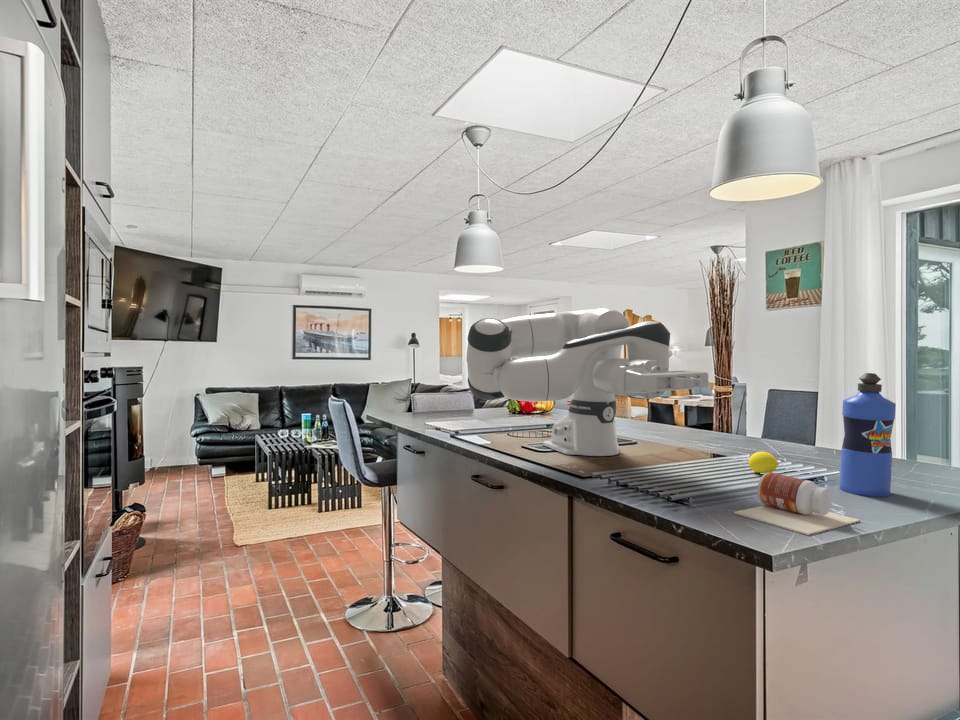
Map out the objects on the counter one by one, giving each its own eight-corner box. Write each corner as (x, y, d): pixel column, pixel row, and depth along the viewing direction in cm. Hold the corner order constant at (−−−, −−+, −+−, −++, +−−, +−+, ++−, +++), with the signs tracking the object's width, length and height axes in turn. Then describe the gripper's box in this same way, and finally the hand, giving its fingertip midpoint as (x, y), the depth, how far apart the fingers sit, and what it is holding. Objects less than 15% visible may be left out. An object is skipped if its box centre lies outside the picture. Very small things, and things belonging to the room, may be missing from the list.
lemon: (744, 475, 142) (742, 452, 142) (755, 472, 145) (753, 450, 146) (773, 477, 137) (771, 453, 137) (784, 474, 140) (782, 450, 140)
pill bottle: (752, 497, 111) (813, 512, 102) (762, 466, 113) (823, 479, 104) (767, 508, 115) (828, 524, 105) (777, 479, 116) (837, 492, 107)
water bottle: (828, 485, 131) (834, 371, 130) (868, 485, 132) (874, 372, 131) (859, 497, 122) (865, 374, 121) (902, 497, 123) (908, 375, 122)
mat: (734, 513, 108) (734, 511, 108) (786, 502, 116) (786, 500, 116) (808, 535, 97) (808, 533, 97) (860, 521, 105) (860, 519, 105)
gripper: (678, 390, 141) (729, 396, 129) (613, 395, 131) (662, 401, 119) (679, 364, 141) (729, 366, 129) (613, 366, 131) (662, 369, 119)
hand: (696, 383), depth 124 cm, fingers closed
